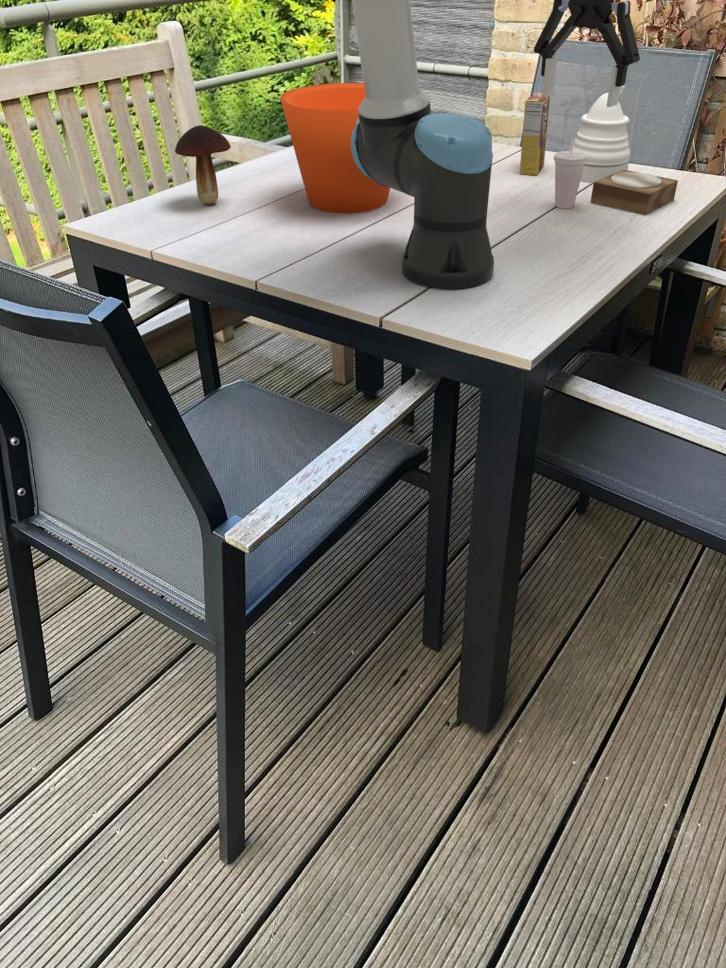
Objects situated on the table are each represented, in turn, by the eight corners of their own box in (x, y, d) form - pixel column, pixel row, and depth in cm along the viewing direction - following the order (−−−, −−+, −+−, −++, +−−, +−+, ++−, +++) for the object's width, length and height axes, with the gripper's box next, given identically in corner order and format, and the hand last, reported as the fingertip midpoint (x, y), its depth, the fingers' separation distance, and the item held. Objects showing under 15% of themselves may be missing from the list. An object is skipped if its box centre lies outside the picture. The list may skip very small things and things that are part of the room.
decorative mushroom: (188, 215, 162) (177, 134, 153) (177, 199, 170) (166, 122, 162) (242, 208, 165) (234, 128, 157) (228, 192, 174) (220, 116, 165)
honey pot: (608, 165, 188) (622, 78, 177) (637, 180, 178) (654, 90, 167) (556, 169, 185) (567, 82, 175) (583, 186, 175) (596, 94, 165)
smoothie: (578, 200, 167) (589, 127, 159) (582, 210, 162) (593, 135, 154) (546, 200, 168) (555, 126, 159) (549, 210, 162) (558, 135, 154)
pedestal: (645, 215, 159) (649, 192, 157) (590, 202, 166) (593, 180, 163) (673, 200, 166) (678, 178, 164) (619, 189, 173) (623, 167, 170)
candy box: (525, 164, 189) (532, 91, 180) (544, 165, 188) (552, 92, 179) (517, 174, 182) (524, 100, 173) (537, 176, 181) (545, 101, 172)
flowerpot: (267, 214, 162) (259, 106, 150) (311, 179, 181) (307, 80, 170) (390, 225, 156) (391, 113, 144) (421, 187, 175) (425, 86, 164)
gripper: (674, -33, 136) (650, 106, 149) (545, -39, 150) (533, 88, 162) (653, -29, 132) (630, 113, 144) (522, -35, 146) (511, 95, 158)
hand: (579, 100), depth 153 cm, fingers open, 13 cm apart
